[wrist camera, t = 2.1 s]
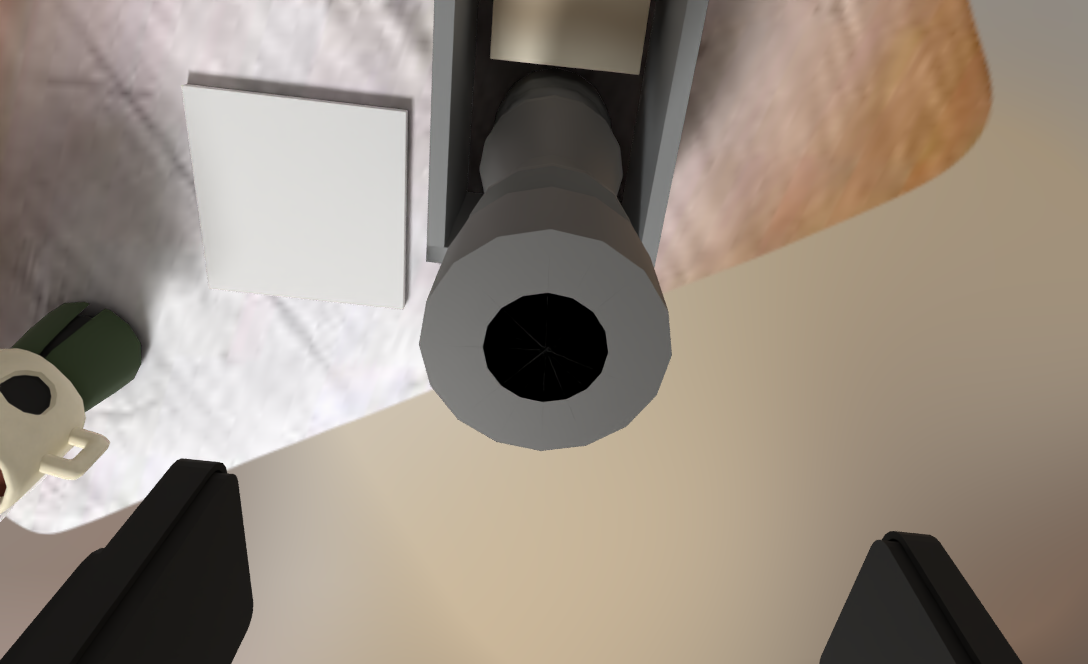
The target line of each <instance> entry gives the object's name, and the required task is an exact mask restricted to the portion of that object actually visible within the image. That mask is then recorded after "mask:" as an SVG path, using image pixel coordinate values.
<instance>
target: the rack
mask: <svg viewBox="0 0 1088 664" xmlns="http://www.w3.org/2000/svg"><path fill="white" fill-rule="evenodd" d="M478 1H479V0H434V29H433V61H432V94H431V126H430V158H429V190H428V223H427V255H426V262H434V263H442V261H443V259H444V256H445V254H446V251H447V249H448V248H449V246H450V245H451V243H452V242H453V240H454V239H455V238H456V236H457V235H458V233H459V232H460V230H461V229H462V228H463V226H464V225H465V223H466V222H467V220H468V219H469V215H470V213H471V212H472V210H473V209H474V208H475V206H476V205H477V203H478V202H479V200H480V199H481V198H482V196H483V195H484V194H481V193H472V192H467V188H468V171H469V154H470V137H471V120H472V103H473V86H474V69H475V52H476V35H477V18H478ZM708 2H709V0H656V6H655V12H654V17H653V23H652V29H651V35H650V41H649V47H648V53H647V58H646V64H645V70H644V76H643V82H642V88H641V94H640V99H639V105H638V111H637V117H636V123H635V129H634V134H633V140H632V146H631V152H630V158H629V164H628V170H627V175H626V181H625V187H624V193H623V199H622V205H621V206H622V207H623V209H624V211H625V213H626V214H627V216H628V218H629V220H630V222H631V225H632V226H633V228H634V230H635V231H636V233H637V235H638V237H639V238H640V240H641V242H642V244H643V245H644V247H645V249H646V251H647V252H648V254H649V256H650V257H651V260H652V263H653V267H655V262H656V257H657V252H658V247H659V242H660V237H661V232H662V227H663V223H664V218H665V213H666V208H667V203H668V198H669V193H670V188H671V183H672V178H673V173H674V169H675V164H676V159H677V154H678V149H679V144H680V139H681V134H682V129H683V124H684V120H685V115H686V110H687V105H688V100H689V95H690V90H691V85H692V80H693V75H694V71H695V66H696V61H697V56H698V51H699V46H700V41H701V36H702V31H703V26H704V21H705V17H706V12H707V7H708Z"/></svg>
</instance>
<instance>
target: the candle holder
mask: <svg viewBox="0 0 1088 664" xmlns="http://www.w3.org/2000/svg"><path fill="white" fill-rule="evenodd" d="M479 170H480V175H481V180H482V184H483V189H484V195H483V196H482V198H481V199H480V200H479V202H478V203H477V205H476V206H475V208H474V209H473V210H472V212H471V213H470V215H469V219H468V220H467V222H466V223H465V225H464V226H463V228H462V229H461V230H460V232H459V233H458V235H457V236H456V238H455V239H454V240H453V242H452V243H451V245H450V246H449V248H448V249H447V251H446V254H445V256H444V259H443V261H442V264H441V266H440V269H439V271H438V274H437V276H436V279H435V281H434V284H433V286H432V289H431V291H430V294H429V296H428V299H427V301H426V307H425V312H424V318H423V324H422V330H421V336H420V341H419V346H420V350H421V353H422V357H423V361H424V364H425V368H426V371H427V375H428V378H429V382H430V385H431V387H432V388H433V389H434V391H435V392H436V393H437V394H438V395H439V397H440V398H441V399H442V400H443V402H445V404H446V405H447V407H448V408H449V409H450V410H451V411H452V413H453V414H454V415H455V416H456V418H457V419H458V420H460V421H462V422H463V423H465V424H467V425H469V426H470V427H472V428H474V429H475V430H477V431H479V432H481V433H482V434H484V435H486V436H487V437H489V438H491V439H492V440H494V441H496V442H500V443H505V444H510V445H515V446H519V447H525V448H530V449H534V450H539V451H544V450H552V449H561V448H570V447H578V446H586V445H588V444H590V443H592V442H595V441H596V440H599V439H601V438H603V437H605V436H607V435H609V434H611V433H614V432H616V431H618V430H620V429H622V428H624V427H626V426H627V425H628V424H629V423H630V422H631V421H632V420H633V419H634V418H635V417H636V416H637V415H638V414H639V413H640V412H641V411H642V410H643V409H644V408H645V407H646V406H647V405H648V404H649V403H650V401H651V400H652V399H653V398H654V397H655V396H656V395H657V393H658V390H659V387H660V385H661V382H662V380H663V377H664V374H665V372H666V369H667V366H668V364H669V361H670V359H671V356H672V352H671V341H670V340H671V339H670V327H669V315H668V309H667V306H666V303H665V300H664V297H663V294H662V291H661V288H660V285H659V282H658V279H657V276H656V273H655V270H654V267H653V263H652V260H651V257H650V256H649V254H648V252H647V251H646V249H645V247H644V245H643V244H642V242H641V240H640V238H639V237H638V235H637V233H636V231H635V230H634V228H633V226H632V225H631V222H630V220H629V218H628V216H627V214H626V213H625V211H624V209H623V207H622V206H621V204H620V202H619V200H618V199H617V194H618V191H619V187H620V184H621V181H622V177H623V171H622V161H621V152H620V146H619V144H618V142H617V140H616V138H615V136H614V135H613V133H612V130H611V121H610V116H609V114H608V111H607V108H606V106H605V104H604V102H603V101H602V99H601V97H600V95H599V93H598V91H597V90H596V88H595V87H594V86H593V85H592V84H590V83H589V82H588V81H587V80H585V79H584V78H583V77H582V76H580V75H579V74H578V73H575V72H571V71H567V70H563V69H559V68H549V69H543V70H537V71H533V72H531V73H529V74H528V75H526V76H525V77H523V78H522V79H520V80H519V81H517V82H516V83H514V84H513V86H512V87H511V89H510V90H509V92H508V93H507V95H506V96H505V98H504V99H503V101H502V102H501V104H500V107H499V109H498V111H497V113H496V118H495V123H494V128H493V129H492V131H491V132H490V134H489V135H488V137H487V138H486V140H485V144H484V149H483V154H482V159H481V164H480V169H479Z"/></svg>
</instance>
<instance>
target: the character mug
mask: <svg viewBox="0 0 1088 664" xmlns="http://www.w3.org/2000/svg"><path fill="white" fill-rule="evenodd" d="M88 305H89V303H87V302H75V303H64V304H63V305H61V306H59V307H58V308H56V309H55V310H53V311H51V312H50V313H48V314H47V315H46V316H45V317H44V318H42V319H41V320H40V321H39V322H38V323H37V324H35V325H34V326H33V327H32V328H31V329H29V330H28V331H27V332H26V333H25V334H24V335H23V336H22V337H21V338H20V339H19V340H18V341H17V342H16V343H15V344H14V345H13V346H12V347H11V348H10V349H0V514H1V513H3V512H4V511H6V510H7V509H8V508H10V507H11V506H12V505H13V504H15V503H16V502H17V501H18V500H19V499H20V498H21V497H22V496H23V495H24V494H25V493H26V492H27V491H28V490H30V489H31V488H32V487H33V486H34V485H35V484H36V483H37V482H38V481H39V480H40V479H41V478H42V477H43V476H44V475H45V474H49V475H52V476H56V477H59V478H62V479H68V480H76V479H77V478H79V477H81V476H82V475H83V474H84V473H85V472H86V471H87V470H88V469H89V468H90V467H91V466H92V465H93V464H94V463H95V462H96V461H97V460H98V459H99V458H100V456H101V455H102V454H103V453H104V452H105V451H106V450H107V449H108V447H109V444H110V441H109V440H108V439H107V438H106V437H104V436H103V435H101V434H98V433H95V432H92V431H88V430H85V429H83V427H84V423H85V419H86V416H85V412H86V411H88V410H89V409H91V408H92V407H94V406H95V405H97V404H98V403H100V402H101V401H103V400H104V399H106V398H107V397H109V396H111V395H112V394H114V393H115V392H117V391H118V390H119V389H121V388H122V387H124V386H125V385H126V384H128V383H129V382H130V381H132V380H133V379H134V378H135V376H136V374H137V372H138V370H139V367H140V365H141V343H140V341H139V340H138V338H137V337H136V335H135V334H134V332H133V330H132V329H131V327H130V326H129V324H127V323H126V322H125V321H124V320H122V319H121V318H120V317H118V316H117V315H116V314H115V313H113V312H112V311H111V310H107V309H104V310H103V311H101V312H100V313H99V314H97V315H96V316H95V317H94V318H91V317H89V316H81V315H78V314H79V313H80V312H82V311H83V310H84V309H85V308H86V307H87V306H88ZM74 446H77V447H80V448H83V449H82V450H81V452H80V453H79V454H78V455H77V456H76V457H75V458H73V459H65V458H62V457H63V456H64V455H65V454H66V453H67V452H68V451H69V450H70V449H71V448H73V447H74Z"/></svg>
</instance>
